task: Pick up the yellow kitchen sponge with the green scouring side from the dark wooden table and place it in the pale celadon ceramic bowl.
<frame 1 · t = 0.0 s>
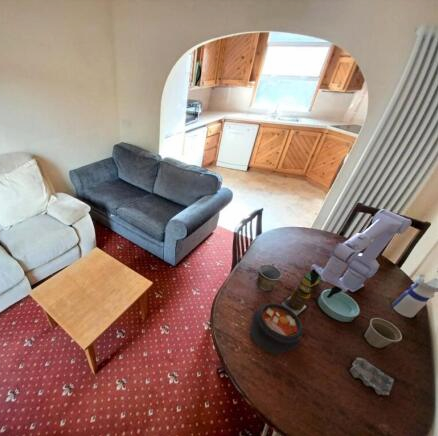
hand: (320, 290, 104), 10 cm above the table, tool pointing down, fingers open, 7 cm apart
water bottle: (401, 309, 107), on the table
condiment: (293, 305, 109), on the table
sponge: (309, 282, 120), on the table
casserole: (274, 330, 100), on the table
bowl: (335, 308, 108), on the table
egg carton: (367, 378, 85), on the table
ceramic cup: (265, 283, 120), on the table
flower pot: (373, 340, 96), on the table
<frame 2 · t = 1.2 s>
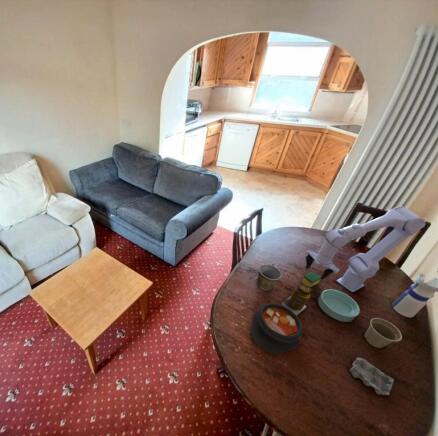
hand: (314, 273, 116), 7 cm above the table, tool pointing down, fingers open, 7 cm apart
nothing on the table moved.
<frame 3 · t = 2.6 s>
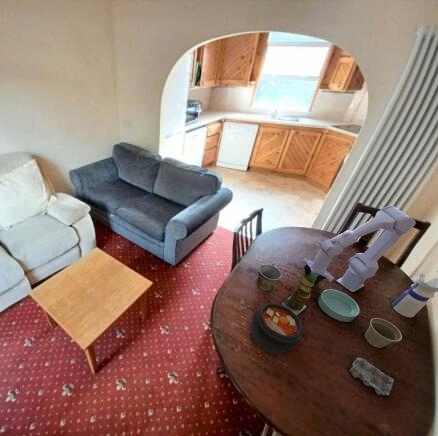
hand: (310, 280, 119), 1 cm above the table, tool pointing down, fingers closed on sponge, 4 cm apart
sponge: (309, 282, 120), on the table, touching gripper
everything else where it was.
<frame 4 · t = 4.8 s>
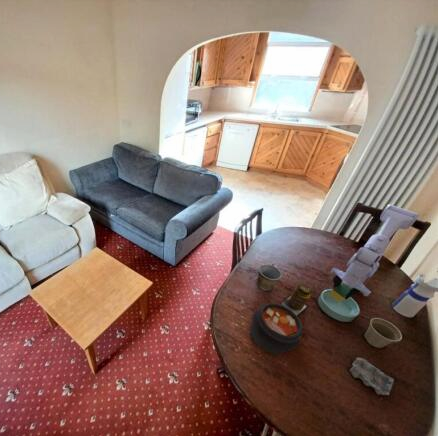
hand: (340, 293, 104), 8 cm above the table, tool pointing down, fingers closed on sponge, 4 cm apart
sponge: (339, 295, 105), point 7 cm above the table, touching gripper
everything else where it was.
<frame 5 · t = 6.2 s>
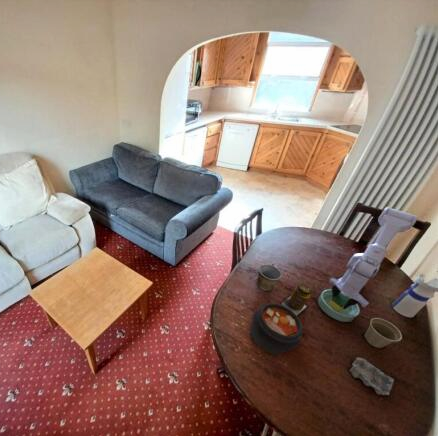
hand: (339, 303, 106), 4 cm above the table, tool pointing down, fingers closed on sponge, 4 cm apart
sponge: (337, 305, 107), point 2 cm above the table, touching gripper
everything else where it was.
when the fingers open (2 cm above the table, at t = 7.1 s): sponge stays where it is, resting on bowl.
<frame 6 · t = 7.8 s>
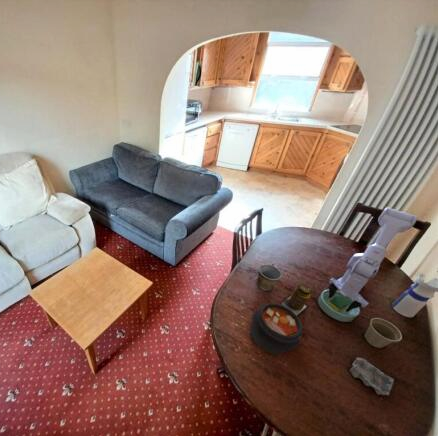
hand: (338, 303, 106), 3 cm above the table, tool pointing down, fingers open, 7 cm apart
sponge: (336, 307, 108), point 1 cm above the table, touching bowl
everything else where it was.
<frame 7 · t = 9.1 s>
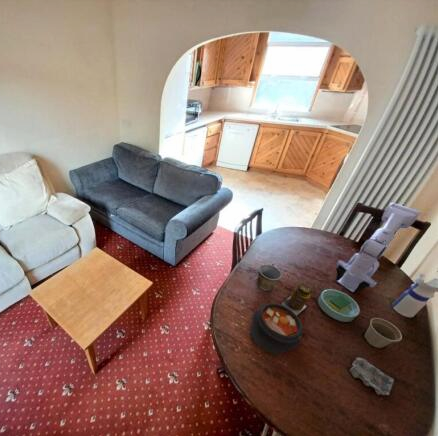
hand: (346, 285, 107), 9 cm above the table, tool pointing down, fingers open, 7 cm apart
nothing on the table moved.
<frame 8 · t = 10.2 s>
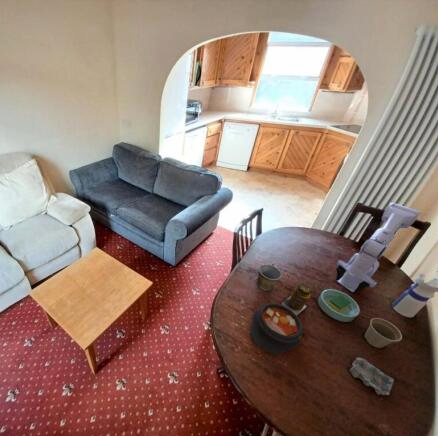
hand: (346, 285, 107), 9 cm above the table, tool pointing down, fingers open, 7 cm apart
nothing on the table moved.
at the end: sponge inside the target area in the bowl (0.1 cm from its centre), point 0.6 cm above the bowl's base; the gripper is holding nothing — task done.
